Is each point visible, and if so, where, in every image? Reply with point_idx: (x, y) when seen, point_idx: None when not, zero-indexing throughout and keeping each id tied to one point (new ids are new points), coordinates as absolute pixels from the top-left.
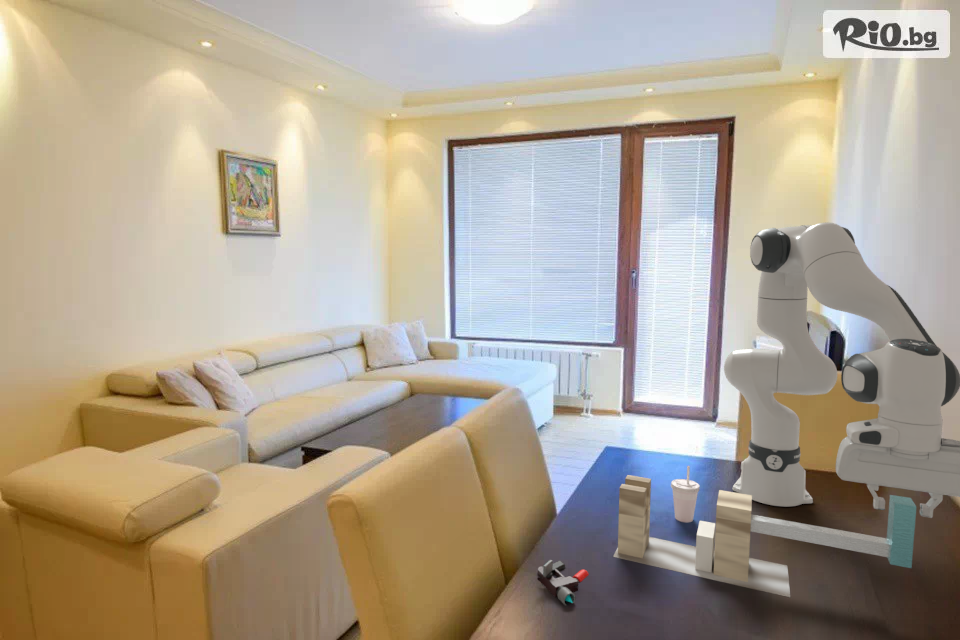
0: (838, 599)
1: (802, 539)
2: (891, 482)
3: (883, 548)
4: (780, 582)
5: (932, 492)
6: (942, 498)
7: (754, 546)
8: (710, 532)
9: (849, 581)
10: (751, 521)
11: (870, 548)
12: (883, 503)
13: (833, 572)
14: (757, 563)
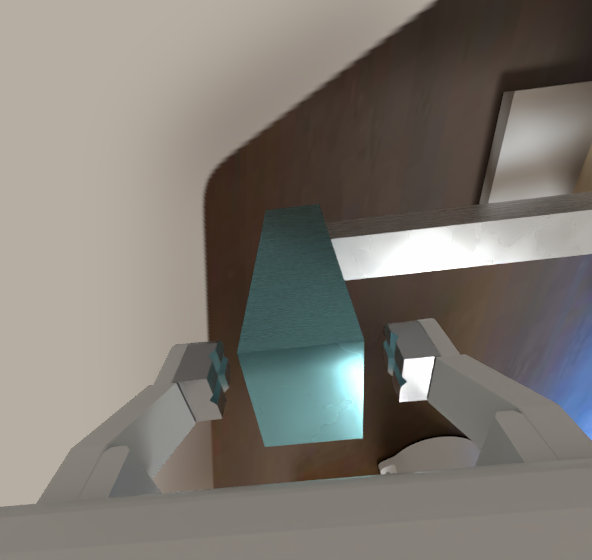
0: (391, 180)
1: (573, 195)
2: (477, 532)
3: (343, 230)
4: (517, 157)
5: (90, 503)
6: (61, 466)
7: (509, 303)
8: None
9: None
10: None
11: (377, 223)
12: (407, 346)
13: (382, 282)
14: None
